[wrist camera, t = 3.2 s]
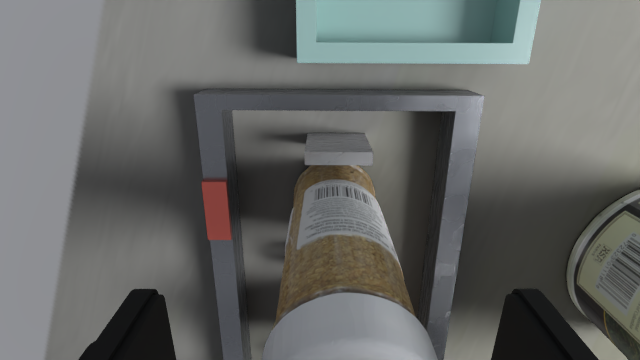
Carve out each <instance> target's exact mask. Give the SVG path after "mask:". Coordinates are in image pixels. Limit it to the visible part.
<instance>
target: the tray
mask: <svg viewBox="0 0 640 360" xmlns="http://www.w3.org/2000/svg"><path fill="white" fill-rule="evenodd" d="M540 2H541V0H296V31H297V63H427V64H529V60H530V54H531V49H532V44H533V39H534V34H535V28H536V23H537V18H538V13H539V7H540Z"/></svg>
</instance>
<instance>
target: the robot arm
mask: <svg viewBox="0 0 640 360" xmlns="http://www.w3.org/2000/svg"><path fill="white" fill-rule="evenodd" d="M79 360H176V356H175V351H174V345H173V340H172V335H171V329H170V324H169V318H168V313H167V308H166V302H165V298H164V296H163V295H159V294H158V291H157V290H156V289H134V290H132V291H131V292H130V293H129V295H128V296H127V298H126V299H125V300H124V302H123V303H122V305H121V306H120V307H119V309H118V310H117V312H116V313H115V314H114V316H113V317H112V319H111V320H110V322H109V323H108V324H107V326H106V327H105V329H104V330H103V331H102V333H101V334H100V336H99V337H98V339H97V340H96V341H95V342H93V343H91V344H90V345H89V346H88V347H87V349H86V350H85V351H84V353H83V354H82V355H81V357H80V358H79ZM491 360H598V358H597V357H596V356H595V355H594V354H593V352H592V351H591V350H590V349H589V348H588V347H587V345H586V344H585V343H584V342H583V341H582V340H581V338H580V337H579V336H578V335H577V334H576V332H575V331H574V330H573V329H572V328H571V327H570V325H569V324H568V323H567V322H566V321H565V319H564V318H563V317H562V316H561V315H560V314H559V312H558V311H557V310H556V309H555V308H554V306H553V305H552V304H551V303H550V302H549V301H548V299H547V298H546V297H545V296H544V295H543V294H542V292H541V291H539V290H538V289H514V290H513V291H512V293H511V294H508V295H507V296H506V298H505V302H504V306H503V311H502V315H501V319H500V324H499V328H498V332H497V336H496V341H495V345H494V349H493V353H492V358H491Z"/></svg>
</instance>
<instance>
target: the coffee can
mask: <svg viewBox="0 0 640 360" xmlns="http://www.w3.org/2000/svg"><path fill="white" fill-rule="evenodd" d="M566 277H567V287H568V291H569V294H570V297H571V299H572V301H573V303H574V304H575V306H576V307H577V308H578V309H579V311H580V312H581V313H582V314H583V315H584V316H586V317H587V318H588V319H589V320H591V321H592V322H593V323H594V324H595V325H596V326H597V327H598V328H599V329H600V330H601V331H602V333H603V334H604V335H605V336H606V337H607V338H608V339H609V340H610V341H611V342H612V343H613V344H614V345H615V346H616V347H617V348H618V349H619V350H620V351H621V352H622V353H623V354H624V355H625V356H626V357H627V358H628V360H640V190H637V191H634V192H632V193H630V194H628V195H626V196H624V197H623V198H621V199H619V200H617V201H616V202H614V203H613V204H611V205H610V206H608V207H607V208H606V209H604V210H603V211H602V212H601V213H599V214H598V215H597V216H596V217H595V218H594V219H593V221H592V222H591V223H590V224H589V225H588V226H587V227H586V229H585V230H584V231H583V232H582V234H581V235H580V237H579V239H578V240H577V242H576V244H575V245H574V248H573V250H572V252H571V255H570V258H569V262H568V267H567V272H566Z"/></svg>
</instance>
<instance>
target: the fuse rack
mask: <svg viewBox="0 0 640 360" xmlns="http://www.w3.org/2000/svg"><path fill="white" fill-rule="evenodd" d="M483 102H484V96H483V95H480V94H478V93H475V92H472V91H469V90H316V89H205V90H203V91H200V92H198V93H196V94H194V103H195V111H196V120H197V129H198V138H199V147H200V156H201V165H202V174H203V181H202V182H201V183H202V192H203V201H204V210H205V218H206V227H207V236H208V240H210V245H211V254H212V263H213V272H214V280H215V289H216V298H217V307H218V316H219V325H220V334H221V343H222V352H223V360H251V349H250V336H249V324H248V311H247V298H246V285H245V273H244V260H243V247H242V234H241V222H240V209H239V196H238V183H237V171H236V158H235V145H234V132H233V120H232V110H320V111H442V116H441V124H440V133H439V141H438V149H437V158H436V166H435V175H434V183H433V192H432V200H431V209H430V217H429V226H428V234H427V242H426V251H425V259H424V268H423V276H422V285H421V293H420V302H419V310H418V321H419V322H420V323H421V324H422V326H423V327H424V328H425V330H426V331H427V333H428V335H429V338H430V340H431V342H432V345H433V348H434V350H435V353H436V356H437V359H438V360H443V359H444V352H445V346H446V339H447V333H448V327H449V320H450V314H451V307H452V301H453V295H454V288H455V282H456V275H457V269H458V262H459V256H460V250H461V243H462V237H463V230H464V224H465V217H466V211H467V205H468V198H469V192H470V185H471V179H472V172H473V166H474V160H475V153H476V147H477V140H478V134H479V127H480V121H481V115H482V108H483ZM305 165H373V151H372V149H371V146H370V144H369V142H368V140H367V137H366V135H365V134H360V133H308V134H307V140H306V147H305Z"/></svg>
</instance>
